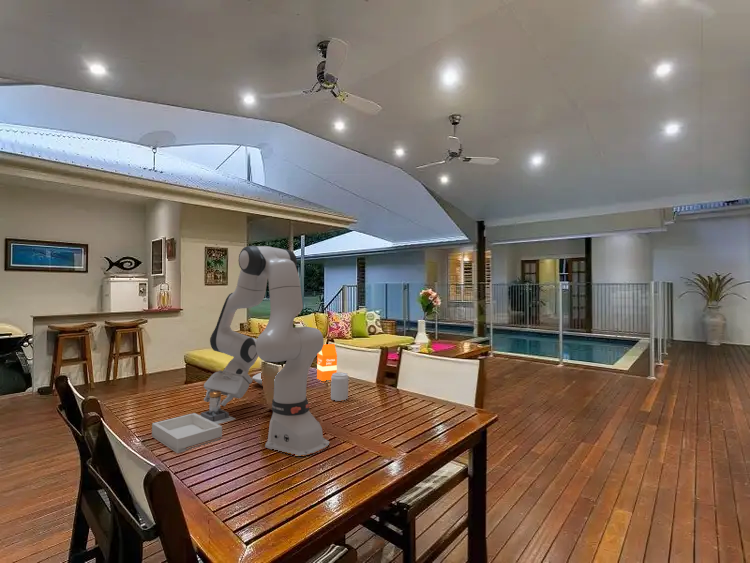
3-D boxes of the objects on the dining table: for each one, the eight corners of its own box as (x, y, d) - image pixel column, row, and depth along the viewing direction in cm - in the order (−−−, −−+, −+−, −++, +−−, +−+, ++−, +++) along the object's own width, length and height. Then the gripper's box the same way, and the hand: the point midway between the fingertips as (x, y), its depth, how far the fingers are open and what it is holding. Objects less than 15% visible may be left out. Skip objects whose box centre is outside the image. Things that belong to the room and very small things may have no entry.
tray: (221, 439, 135) (222, 426, 135) (177, 453, 124) (177, 439, 124) (194, 424, 148) (194, 412, 148) (151, 436, 136) (152, 423, 136)
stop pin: (222, 417, 153) (223, 392, 153) (212, 420, 150) (212, 394, 150) (217, 415, 156) (217, 390, 156) (206, 417, 153) (207, 392, 153)
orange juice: (336, 380, 218) (337, 344, 218) (321, 382, 214) (322, 345, 214) (330, 377, 225) (331, 342, 225) (316, 379, 221) (317, 343, 221)
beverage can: (339, 403, 178) (340, 377, 178) (327, 399, 183) (327, 374, 183) (351, 399, 184) (352, 374, 184) (338, 396, 189) (339, 371, 189)
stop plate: (235, 421, 152) (236, 413, 152) (211, 428, 145) (211, 420, 145) (217, 413, 161) (217, 405, 161) (193, 419, 154) (193, 411, 154)
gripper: (213, 365, 164) (191, 394, 156) (247, 372, 154) (226, 403, 146) (221, 374, 168) (201, 402, 160) (256, 381, 158) (236, 412, 149)
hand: (213, 403), depth 153 cm, fingers open, 8 cm apart
